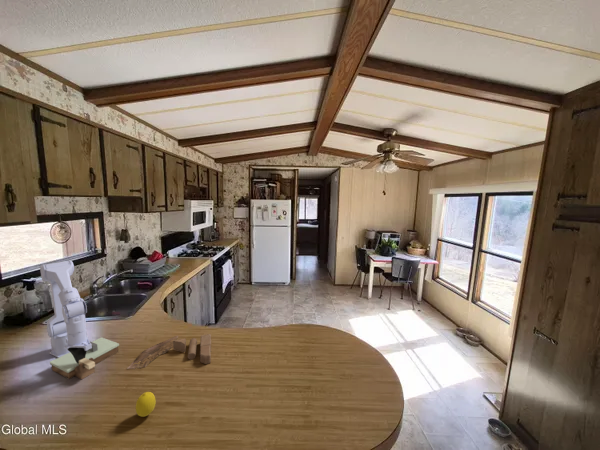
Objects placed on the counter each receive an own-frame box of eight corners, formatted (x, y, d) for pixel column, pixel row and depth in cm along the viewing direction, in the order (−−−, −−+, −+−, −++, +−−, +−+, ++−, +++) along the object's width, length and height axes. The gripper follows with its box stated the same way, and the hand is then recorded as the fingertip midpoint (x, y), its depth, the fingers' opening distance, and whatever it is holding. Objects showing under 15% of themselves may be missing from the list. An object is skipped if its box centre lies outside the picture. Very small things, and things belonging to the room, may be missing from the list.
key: (79, 364, 94) (78, 360, 94) (85, 361, 96) (84, 357, 95) (89, 369, 91) (88, 365, 91) (95, 366, 93) (94, 362, 93)
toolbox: (52, 370, 97) (50, 357, 96) (101, 345, 113) (100, 333, 113) (76, 382, 90) (74, 368, 89) (125, 354, 107) (124, 342, 106)
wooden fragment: (136, 374, 95) (135, 371, 95) (119, 367, 99) (119, 364, 99) (187, 339, 119) (187, 337, 119) (172, 334, 123) (172, 333, 123)
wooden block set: (210, 330, 117) (210, 352, 100) (211, 341, 117) (211, 364, 101) (173, 337, 111) (166, 362, 94) (173, 348, 111) (167, 375, 95)
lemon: (142, 408, 79) (141, 387, 78) (159, 407, 79) (158, 385, 79) (132, 423, 73) (130, 401, 73) (150, 422, 74) (148, 399, 73)
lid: (49, 364, 96) (48, 355, 96) (101, 339, 113) (100, 332, 113) (67, 373, 91) (66, 364, 91) (119, 345, 108) (118, 338, 108)
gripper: (54, 332, 93) (58, 363, 94) (74, 340, 87) (78, 373, 89) (76, 323, 99) (79, 352, 101) (96, 330, 94) (99, 361, 95)
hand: (80, 361), depth 95 cm, fingers closed
